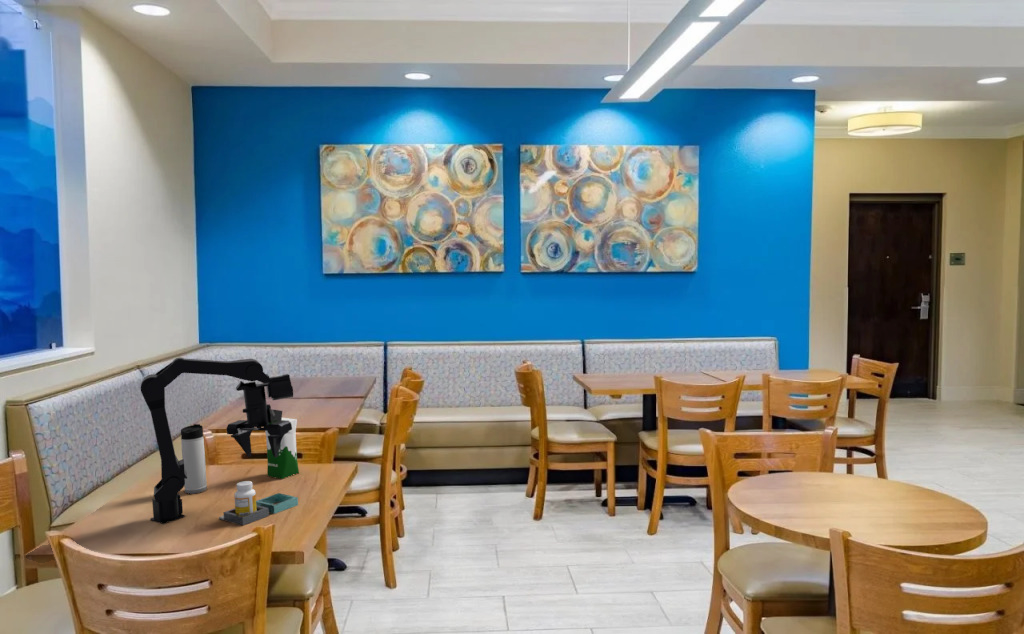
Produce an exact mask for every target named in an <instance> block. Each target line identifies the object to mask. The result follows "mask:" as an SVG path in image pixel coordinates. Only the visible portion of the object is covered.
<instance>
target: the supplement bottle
mask: <svg viewBox="0 0 1024 634" xmlns="http://www.w3.org/2000/svg"><path fill="white" fill-rule="evenodd" d="M256 501H257V495H256V490H255V489H254V488H253V482H252V481H250V480H245V481H239V482H238V483H236V491H235V493H234V508H235V512H236V514H238V515H241V516H245V515H247V514H250V513H253V512H256V511H257V508H256Z"/></svg>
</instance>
